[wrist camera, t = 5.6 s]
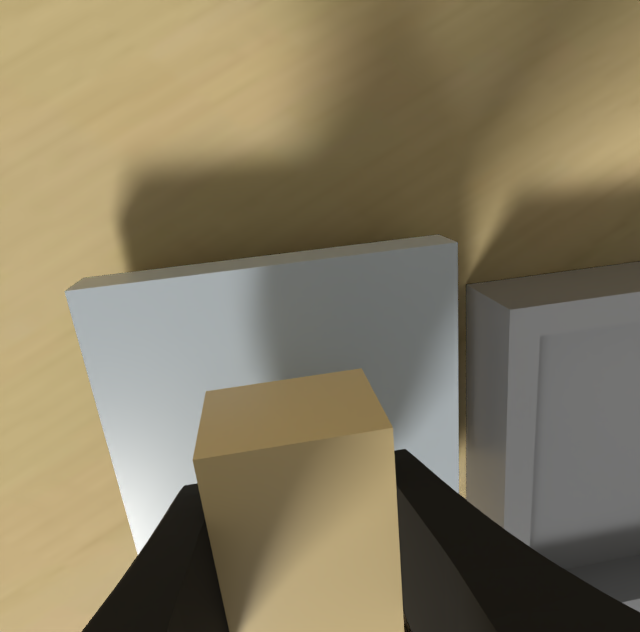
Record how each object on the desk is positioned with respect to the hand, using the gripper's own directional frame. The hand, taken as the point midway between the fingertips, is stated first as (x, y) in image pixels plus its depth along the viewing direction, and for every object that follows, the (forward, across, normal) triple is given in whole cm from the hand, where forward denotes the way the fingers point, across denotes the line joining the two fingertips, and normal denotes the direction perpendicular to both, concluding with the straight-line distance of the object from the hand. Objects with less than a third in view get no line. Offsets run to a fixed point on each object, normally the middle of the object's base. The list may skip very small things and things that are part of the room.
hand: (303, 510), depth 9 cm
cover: (+4, 0, 0) cm, 4 cm away
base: (+5, -11, +3) cm, 12 cm away
